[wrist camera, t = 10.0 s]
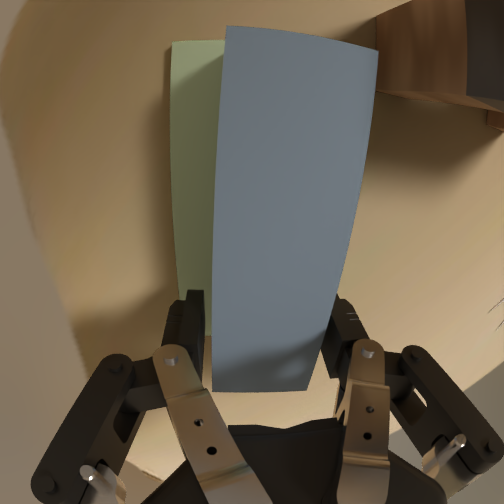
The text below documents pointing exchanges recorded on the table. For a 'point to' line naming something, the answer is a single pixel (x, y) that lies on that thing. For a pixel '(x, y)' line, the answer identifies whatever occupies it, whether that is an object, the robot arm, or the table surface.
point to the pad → (194, 161)
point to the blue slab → (284, 200)
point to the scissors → (497, 305)
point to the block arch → (444, 53)
